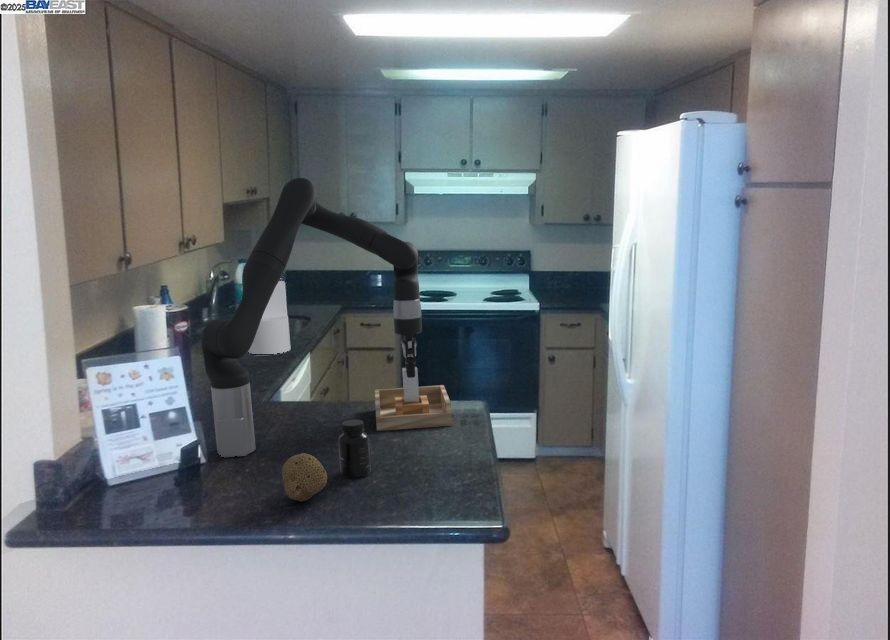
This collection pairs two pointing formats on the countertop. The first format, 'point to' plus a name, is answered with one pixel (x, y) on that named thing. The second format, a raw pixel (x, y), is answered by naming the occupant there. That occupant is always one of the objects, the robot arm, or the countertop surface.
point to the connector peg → (410, 387)
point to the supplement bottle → (354, 450)
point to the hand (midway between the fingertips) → (410, 373)
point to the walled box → (412, 409)
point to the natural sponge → (303, 477)
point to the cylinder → (273, 325)
